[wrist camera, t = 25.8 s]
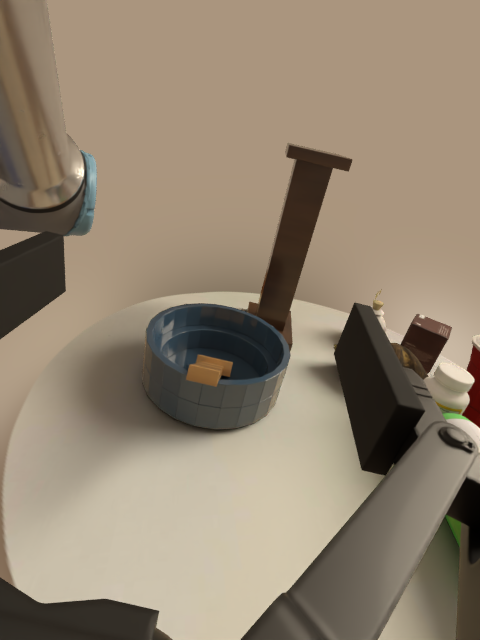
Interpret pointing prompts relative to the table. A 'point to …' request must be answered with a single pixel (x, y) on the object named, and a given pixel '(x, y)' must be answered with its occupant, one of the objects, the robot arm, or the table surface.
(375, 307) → the potion bottle
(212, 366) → the wooden mallet
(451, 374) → the supplement bottle
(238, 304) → the table surface
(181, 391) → the bowl
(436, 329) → the box
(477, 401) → the plastic cup
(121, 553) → the table surface
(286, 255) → the spoon stand
